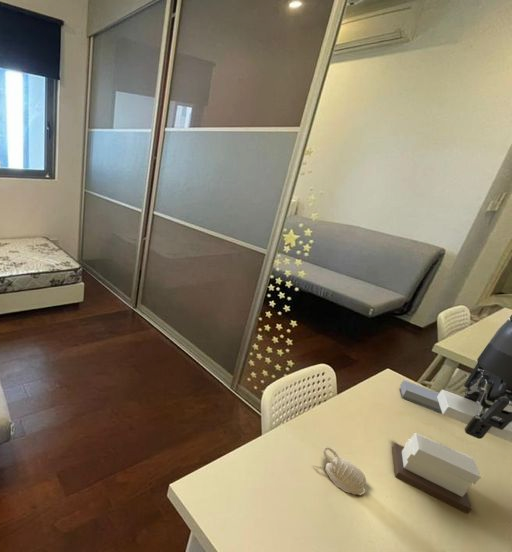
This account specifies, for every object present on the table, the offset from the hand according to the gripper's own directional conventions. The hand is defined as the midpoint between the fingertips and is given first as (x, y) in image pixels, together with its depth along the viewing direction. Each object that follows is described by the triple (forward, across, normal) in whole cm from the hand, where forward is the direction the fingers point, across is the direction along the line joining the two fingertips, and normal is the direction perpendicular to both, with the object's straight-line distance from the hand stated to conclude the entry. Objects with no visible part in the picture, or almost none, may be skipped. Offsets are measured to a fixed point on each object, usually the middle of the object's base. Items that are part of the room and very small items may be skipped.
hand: (467, 423), depth 60 cm
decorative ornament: (+16, -13, +15) cm, 25 cm away
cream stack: (+16, 0, 0) cm, 16 cm away
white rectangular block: (-1, 0, 0) cm, 1 cm away
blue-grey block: (+16, +28, -2) cm, 32 cm away
